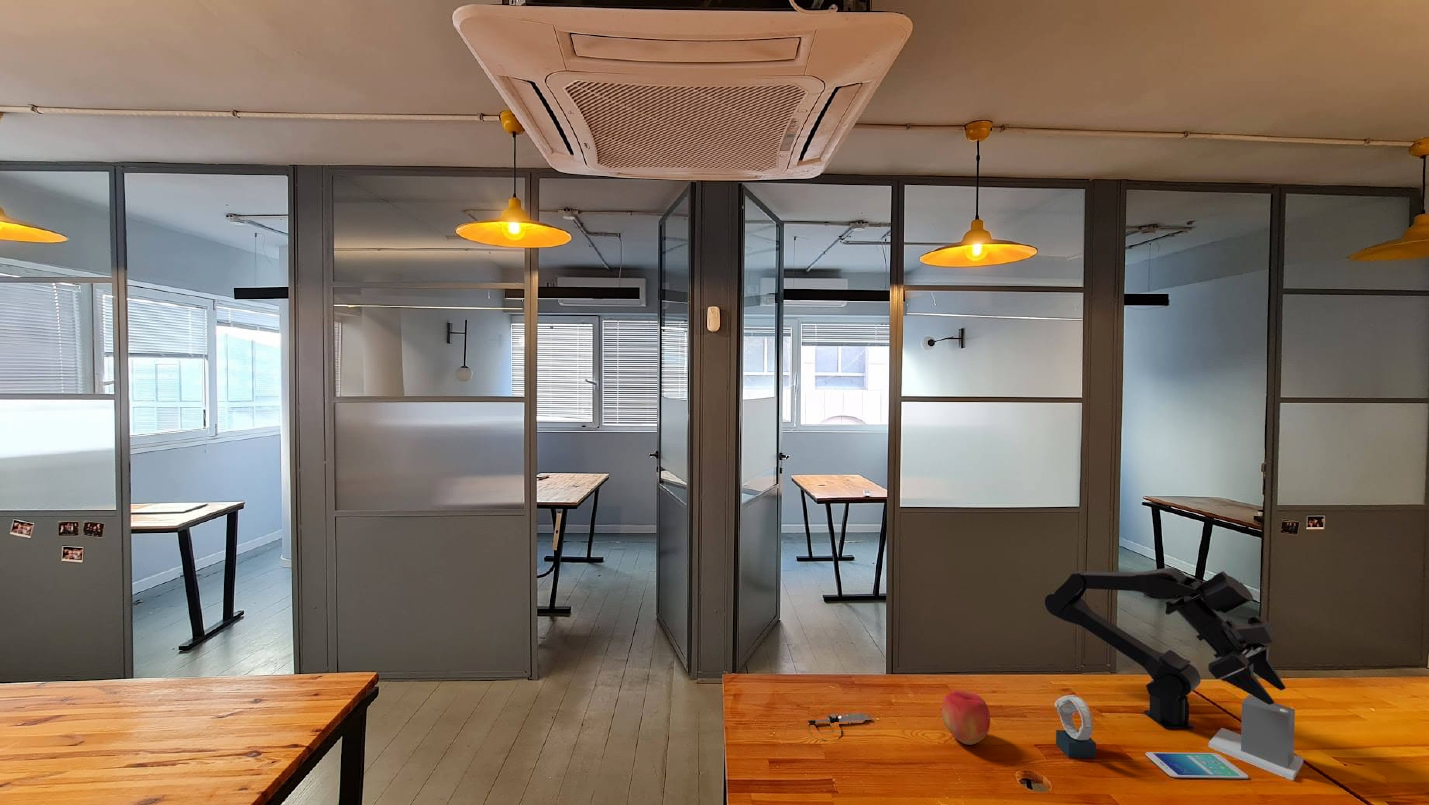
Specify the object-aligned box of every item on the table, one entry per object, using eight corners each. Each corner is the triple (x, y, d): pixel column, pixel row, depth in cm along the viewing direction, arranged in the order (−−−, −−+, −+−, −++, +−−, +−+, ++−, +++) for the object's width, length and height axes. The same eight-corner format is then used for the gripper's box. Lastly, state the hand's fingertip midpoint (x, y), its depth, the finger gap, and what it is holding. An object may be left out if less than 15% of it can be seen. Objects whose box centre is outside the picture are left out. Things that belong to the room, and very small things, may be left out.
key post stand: (1208, 747, 118) (1209, 723, 118) (1221, 732, 123) (1222, 709, 123) (1292, 781, 108) (1293, 755, 108) (1303, 763, 113) (1303, 738, 113)
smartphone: (1251, 777, 108) (1172, 776, 109) (1251, 782, 108) (1171, 780, 109) (1217, 753, 116) (1143, 751, 116) (1217, 756, 116) (1143, 755, 116)
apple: (996, 757, 115) (996, 709, 115) (946, 751, 117) (947, 703, 117) (983, 729, 124) (984, 684, 124) (937, 724, 126) (938, 680, 126)
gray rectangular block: (1240, 750, 115) (1241, 701, 115) (1248, 741, 118) (1249, 693, 118) (1287, 769, 110) (1288, 717, 110) (1293, 759, 113) (1294, 708, 113)
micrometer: (815, 745, 120) (815, 733, 120) (804, 725, 127) (805, 714, 127) (881, 738, 122) (881, 727, 122) (868, 719, 129) (868, 708, 129)
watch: (1076, 739, 121) (1076, 688, 121) (1101, 763, 113) (1102, 709, 113) (1050, 738, 121) (1050, 688, 121) (1073, 763, 113) (1074, 709, 113)
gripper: (1230, 615, 111) (1309, 695, 103) (1255, 595, 122) (1329, 666, 113) (1179, 640, 118) (1250, 717, 109) (1208, 619, 129) (1274, 688, 120)
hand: (1277, 696), depth 113 cm, fingers open, 9 cm apart
